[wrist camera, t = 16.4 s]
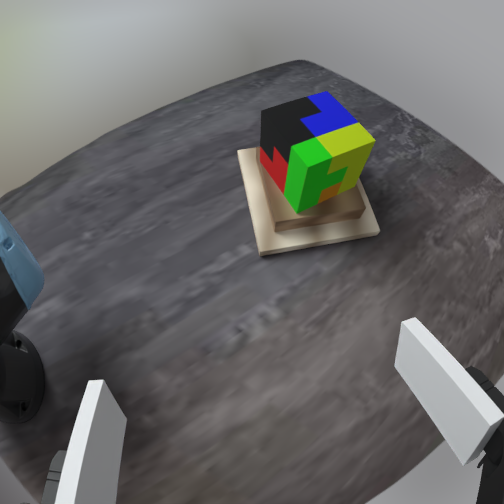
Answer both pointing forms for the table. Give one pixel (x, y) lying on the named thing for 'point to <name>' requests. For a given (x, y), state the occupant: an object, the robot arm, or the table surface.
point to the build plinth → (299, 234)
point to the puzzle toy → (313, 149)
